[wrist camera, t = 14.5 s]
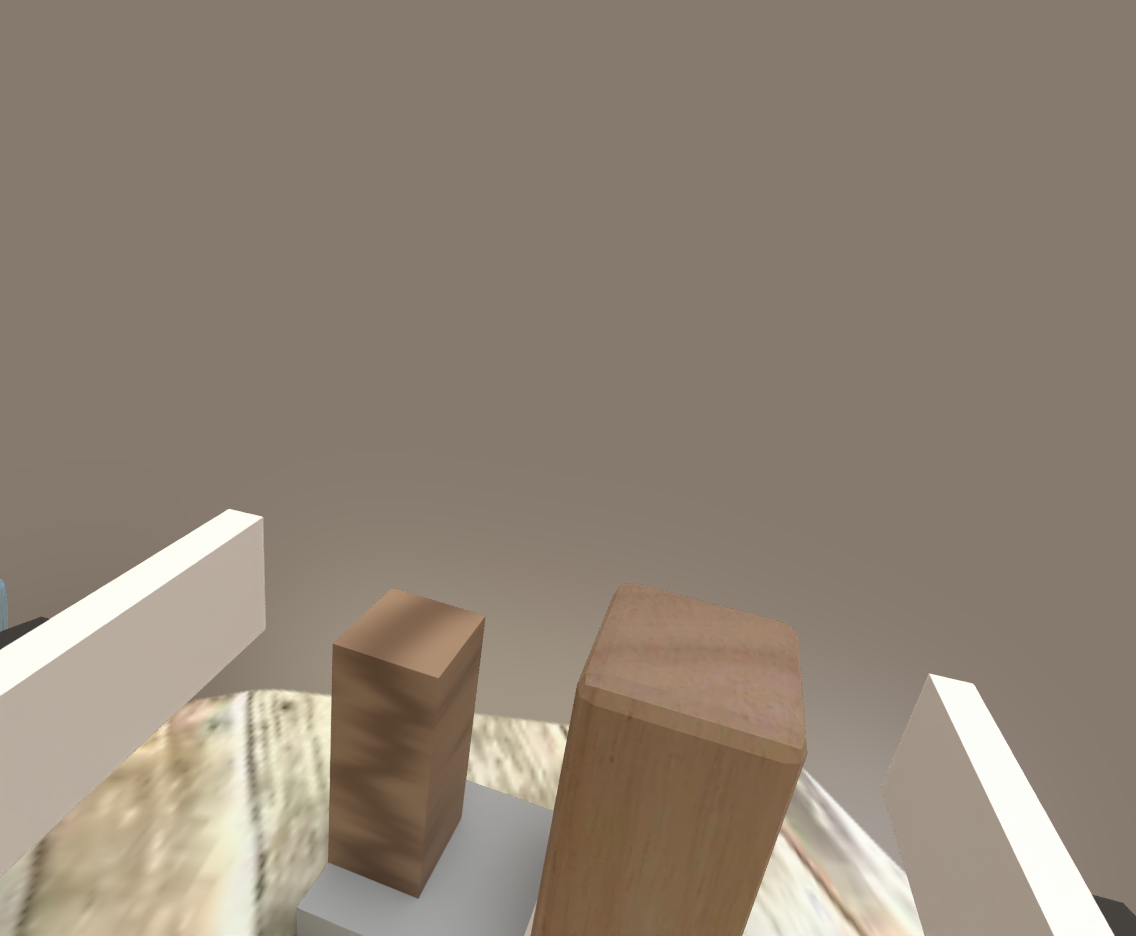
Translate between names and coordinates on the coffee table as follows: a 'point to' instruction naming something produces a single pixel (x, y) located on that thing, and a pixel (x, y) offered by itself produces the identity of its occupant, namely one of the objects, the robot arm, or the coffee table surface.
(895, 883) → the coffee table surface
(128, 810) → the coffee table surface
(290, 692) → the coffee table surface
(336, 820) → the walnut pillar
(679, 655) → the block
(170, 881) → the coffee table surface
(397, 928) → the foundation
